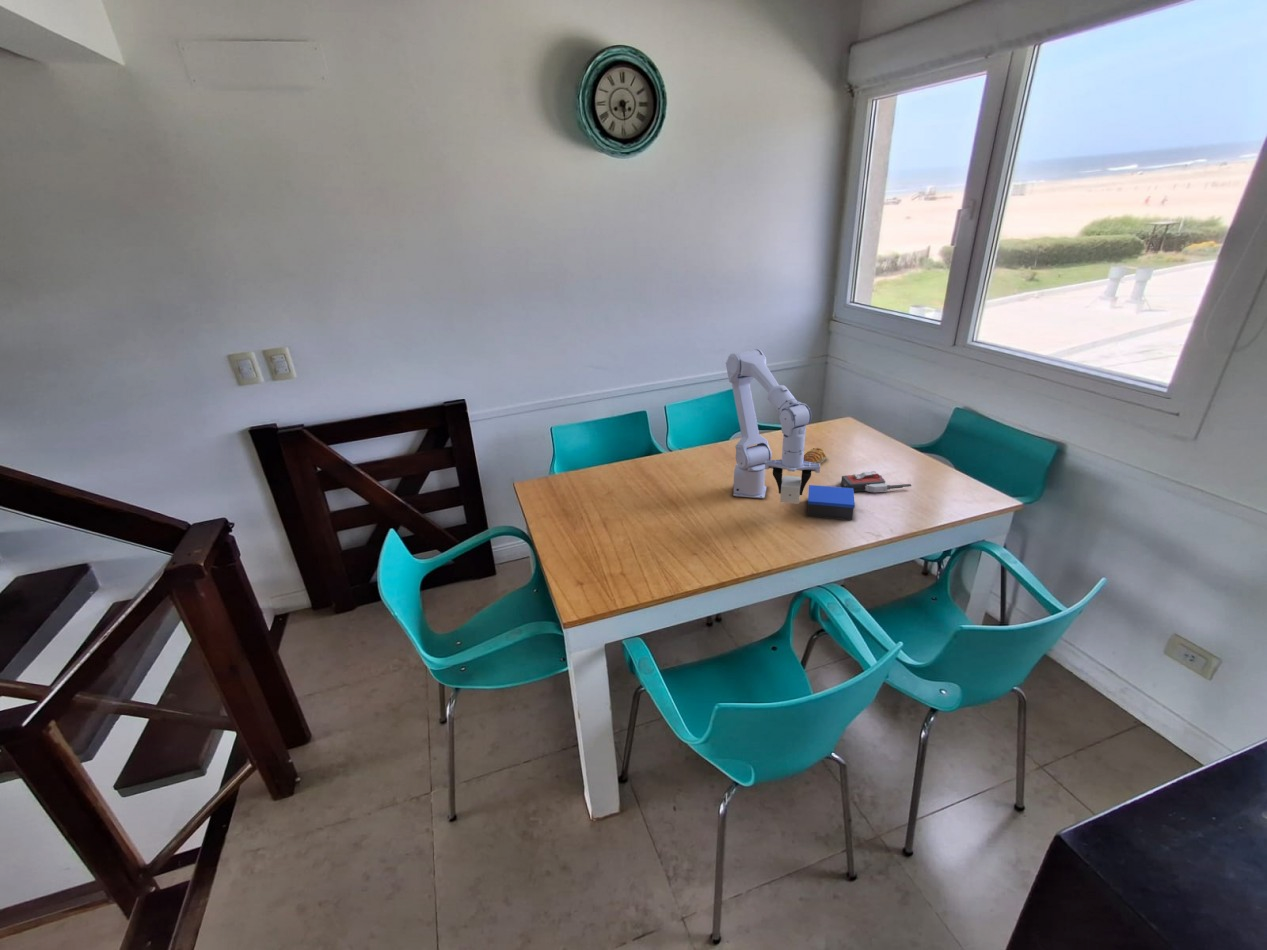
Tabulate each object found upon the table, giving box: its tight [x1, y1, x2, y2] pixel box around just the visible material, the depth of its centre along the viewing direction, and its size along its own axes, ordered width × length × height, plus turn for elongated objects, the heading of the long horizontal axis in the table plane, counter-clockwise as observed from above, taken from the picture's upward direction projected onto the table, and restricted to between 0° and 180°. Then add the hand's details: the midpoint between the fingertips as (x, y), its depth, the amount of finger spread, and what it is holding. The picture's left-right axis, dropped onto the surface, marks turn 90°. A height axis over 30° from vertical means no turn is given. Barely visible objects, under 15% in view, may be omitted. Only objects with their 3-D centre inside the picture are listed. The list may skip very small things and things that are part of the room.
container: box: [807, 484, 856, 521], centre depth 161 cm, size 12×10×5 cm
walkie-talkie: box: [840, 470, 912, 493], centre depth 172 cm, size 9×4×20 cm
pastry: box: [803, 447, 828, 465], centre depth 192 cm, size 9×7×4 cm
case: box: [779, 475, 801, 505], centre depth 156 cm, size 7×5×5 cm
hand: (790, 492), depth 157 cm, fingers closed on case, 5 cm apart
